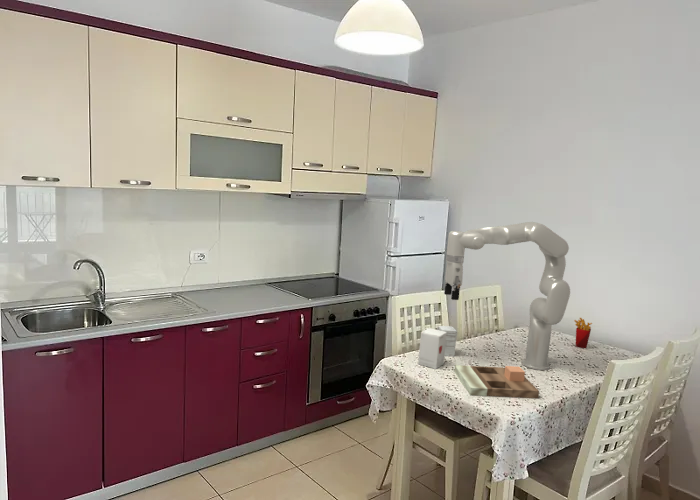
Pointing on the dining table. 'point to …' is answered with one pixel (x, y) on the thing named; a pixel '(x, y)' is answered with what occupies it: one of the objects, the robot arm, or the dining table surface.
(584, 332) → the french fries
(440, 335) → the supplement box
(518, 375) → the terracotta block
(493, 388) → the board
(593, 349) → the dining table surface
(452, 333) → the supplement box
